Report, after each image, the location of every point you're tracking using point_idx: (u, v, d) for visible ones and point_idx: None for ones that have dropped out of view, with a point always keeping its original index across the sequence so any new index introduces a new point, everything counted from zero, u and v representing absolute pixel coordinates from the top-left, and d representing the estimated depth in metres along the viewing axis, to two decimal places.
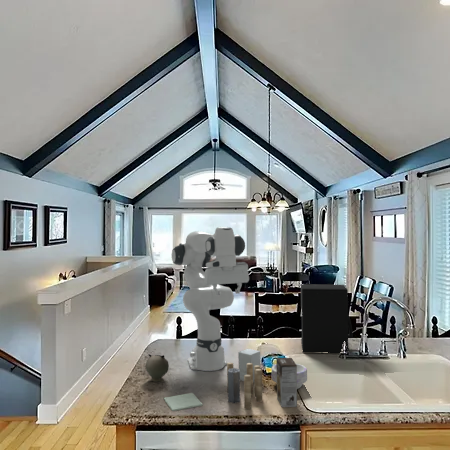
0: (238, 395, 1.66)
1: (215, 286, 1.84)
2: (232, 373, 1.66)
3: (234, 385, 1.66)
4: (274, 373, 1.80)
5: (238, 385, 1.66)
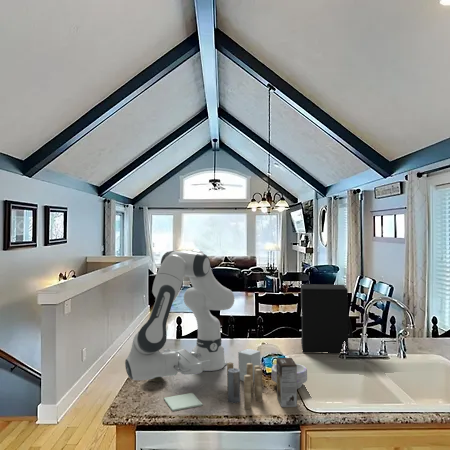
0: (238, 395, 1.66)
1: None
2: (232, 373, 1.66)
3: (234, 385, 1.66)
4: (274, 373, 1.80)
5: (238, 385, 1.66)
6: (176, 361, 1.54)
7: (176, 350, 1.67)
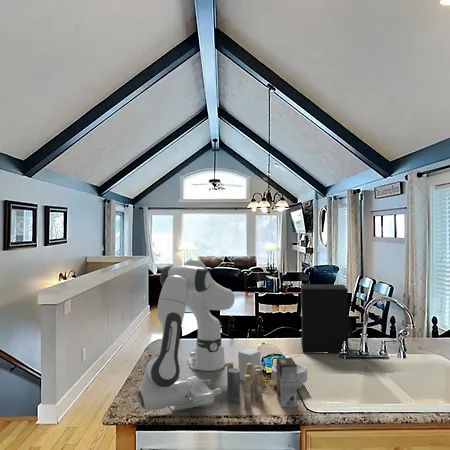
0: (238, 395, 1.66)
1: None
2: (232, 373, 1.66)
3: (234, 385, 1.66)
4: (274, 373, 1.80)
5: (238, 385, 1.66)
6: (188, 390, 1.56)
7: (187, 377, 1.69)
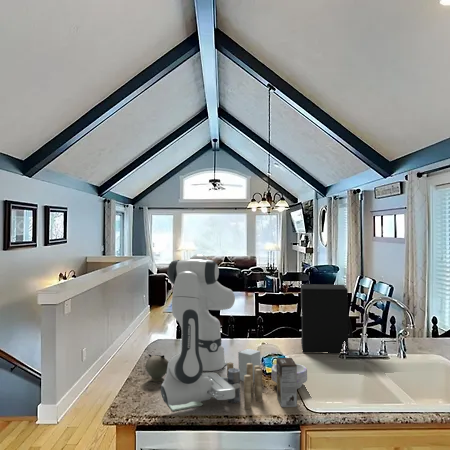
0: (238, 395, 1.66)
1: None
2: (232, 373, 1.66)
3: None
4: (274, 373, 1.80)
5: None
6: (209, 386, 1.60)
7: (207, 374, 1.73)
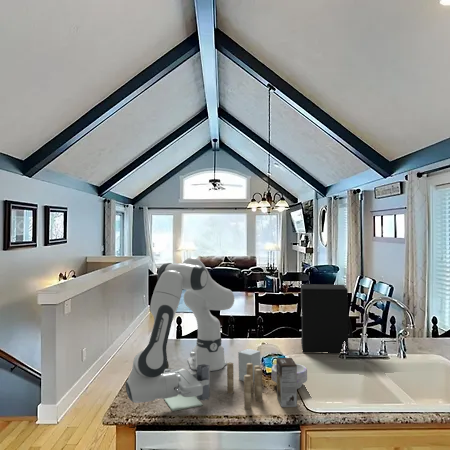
0: (207, 392, 1.61)
1: None
2: (201, 369, 1.61)
3: None
4: (274, 373, 1.80)
5: None
6: (176, 383, 1.55)
7: (176, 370, 1.68)
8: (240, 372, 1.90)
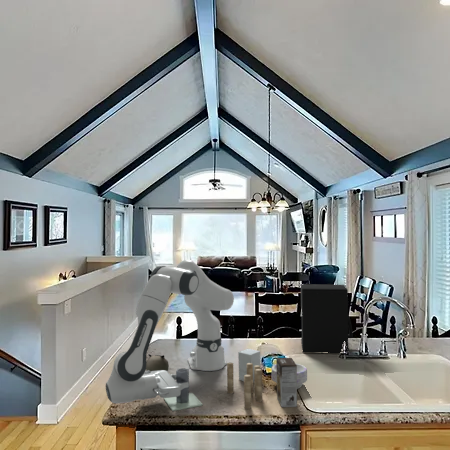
0: (186, 395, 1.65)
1: None
2: (180, 373, 1.65)
3: None
4: (274, 373, 1.80)
5: None
6: (155, 384, 1.58)
7: (157, 371, 1.71)
8: (240, 372, 1.90)
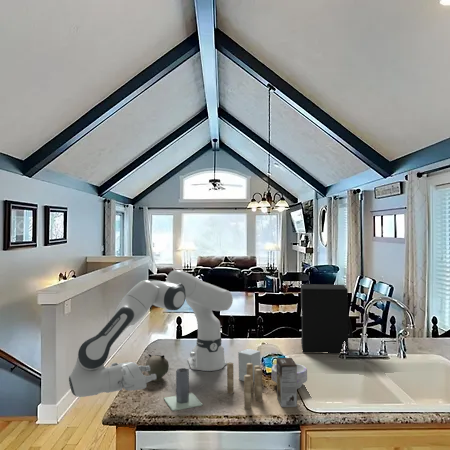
0: (186, 395, 1.65)
1: None
2: (180, 373, 1.65)
3: (182, 385, 1.65)
4: (274, 373, 1.80)
5: (186, 385, 1.65)
6: (120, 376, 1.54)
7: (125, 363, 1.67)
8: (240, 372, 1.90)
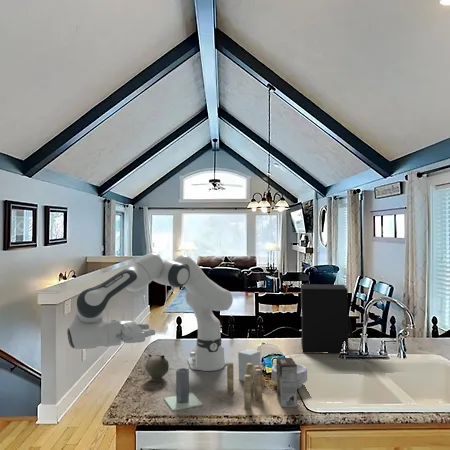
0: (186, 395, 1.65)
1: None
2: (180, 373, 1.65)
3: (182, 385, 1.65)
4: (274, 373, 1.80)
5: (186, 385, 1.65)
6: (119, 330, 1.53)
7: (124, 321, 1.66)
8: (240, 372, 1.90)
